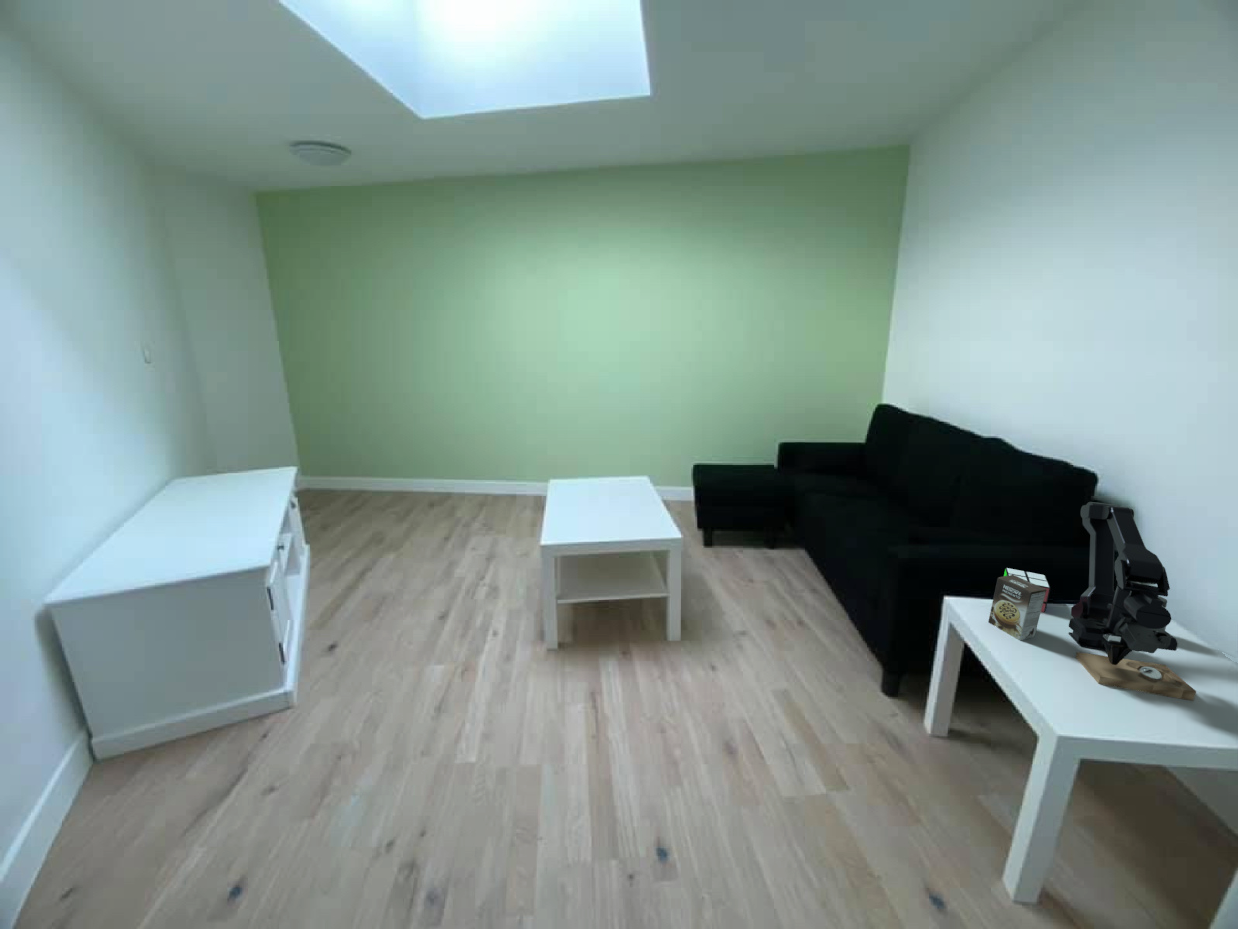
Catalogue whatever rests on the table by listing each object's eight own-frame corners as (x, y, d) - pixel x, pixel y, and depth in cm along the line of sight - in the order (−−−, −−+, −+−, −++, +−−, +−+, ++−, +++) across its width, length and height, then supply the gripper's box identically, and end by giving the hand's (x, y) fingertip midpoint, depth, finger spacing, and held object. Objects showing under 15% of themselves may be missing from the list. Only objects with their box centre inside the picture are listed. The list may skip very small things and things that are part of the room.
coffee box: (985, 627, 144) (996, 576, 140) (1001, 623, 146) (1012, 573, 142) (1018, 645, 136) (1030, 592, 132) (1035, 641, 138) (1047, 588, 134)
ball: (1144, 674, 119) (1165, 672, 118) (1133, 663, 123) (1153, 662, 121) (1146, 688, 120) (1167, 687, 118) (1135, 677, 124) (1155, 676, 122)
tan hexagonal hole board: (1097, 685, 120) (1100, 676, 120) (1074, 660, 129) (1076, 652, 129) (1193, 700, 115) (1196, 691, 114) (1162, 673, 124) (1164, 664, 124)
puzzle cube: (1044, 618, 149) (1051, 588, 147) (1002, 609, 154) (1008, 579, 152) (1038, 603, 157) (1045, 574, 155) (999, 595, 162) (1005, 567, 160)
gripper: (1103, 619, 114) (1087, 678, 117) (1206, 631, 109) (1186, 692, 113) (1074, 595, 124) (1060, 650, 128) (1167, 606, 119) (1150, 662, 123)
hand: (1112, 663), depth 123 cm, fingers closed
